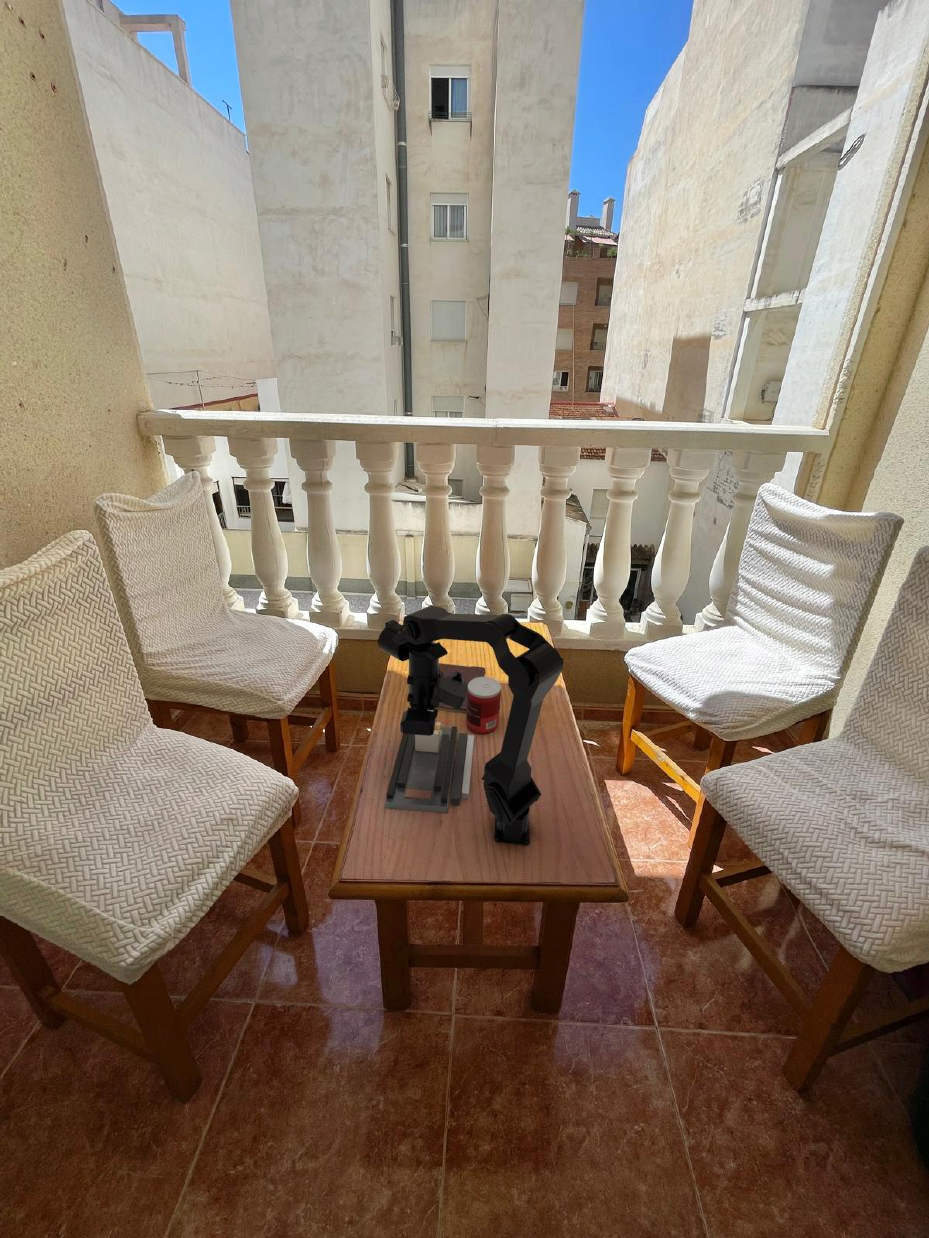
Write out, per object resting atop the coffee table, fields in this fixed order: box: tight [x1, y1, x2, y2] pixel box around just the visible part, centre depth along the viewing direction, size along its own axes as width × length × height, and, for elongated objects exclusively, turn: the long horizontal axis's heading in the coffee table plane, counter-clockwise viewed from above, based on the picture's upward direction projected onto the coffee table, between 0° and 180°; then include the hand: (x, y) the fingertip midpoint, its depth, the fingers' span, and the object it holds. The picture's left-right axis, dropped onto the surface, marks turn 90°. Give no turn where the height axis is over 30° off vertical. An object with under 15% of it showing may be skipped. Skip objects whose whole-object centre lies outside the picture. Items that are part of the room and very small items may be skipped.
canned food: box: [465, 676, 502, 735], centre depth 129 cm, size 8×8×11 cm
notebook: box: [435, 662, 486, 715], centre depth 144 cm, size 15×20×2 cm
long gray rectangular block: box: [449, 732, 475, 807], centre depth 117 cm, size 20×3×2 cm, turn 176°
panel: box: [384, 725, 459, 814], centre depth 117 cm, size 24×12×3 cm, turn 176°
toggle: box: [415, 721, 442, 753], centre depth 120 cm, size 4×5×5 cm
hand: (423, 733), depth 113 cm, fingers closed
